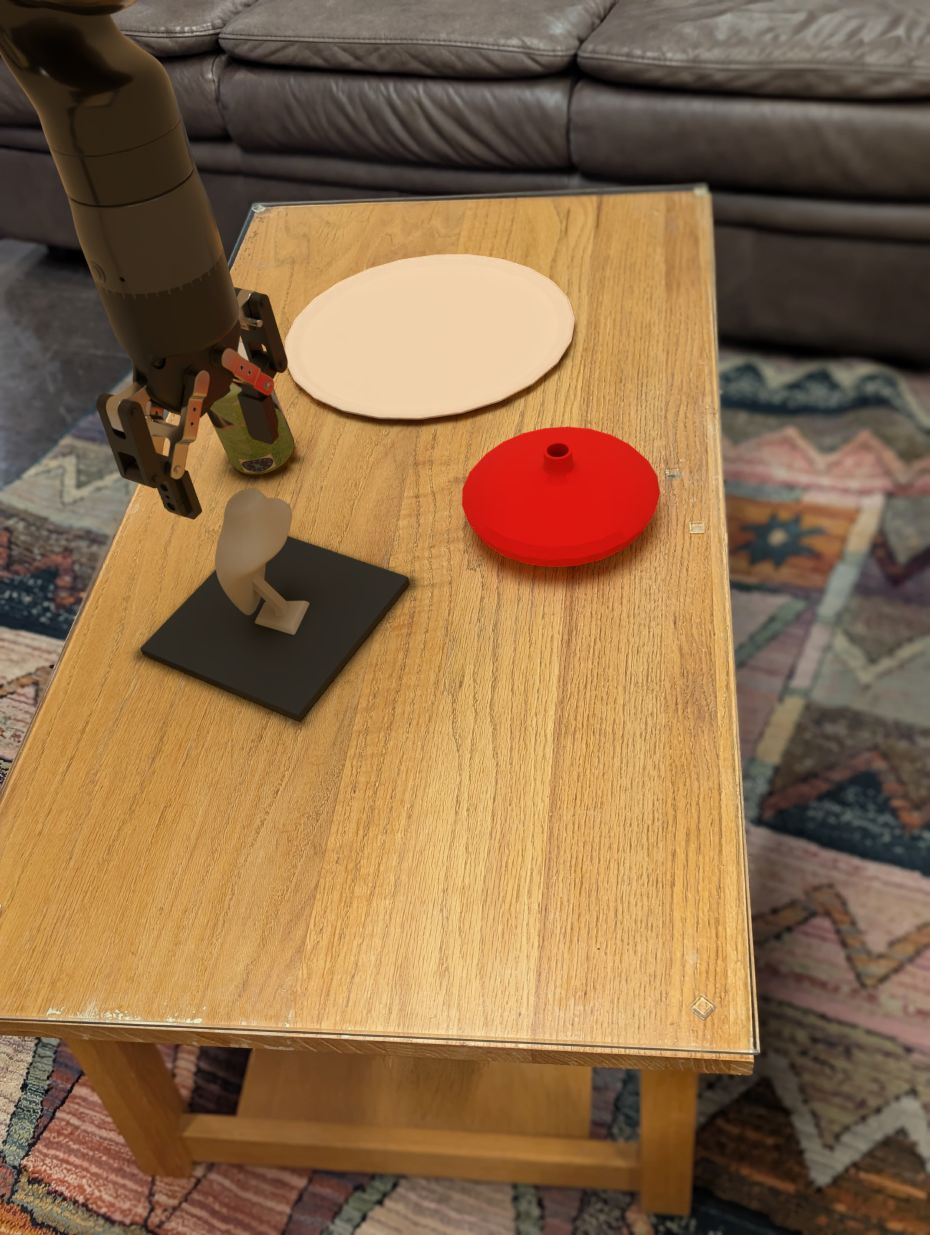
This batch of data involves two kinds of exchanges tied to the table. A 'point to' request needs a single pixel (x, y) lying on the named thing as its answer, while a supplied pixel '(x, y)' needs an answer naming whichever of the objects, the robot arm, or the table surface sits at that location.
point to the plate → (429, 336)
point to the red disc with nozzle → (560, 496)
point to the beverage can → (238, 442)
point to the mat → (268, 658)
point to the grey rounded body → (256, 557)
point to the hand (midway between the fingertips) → (228, 475)
